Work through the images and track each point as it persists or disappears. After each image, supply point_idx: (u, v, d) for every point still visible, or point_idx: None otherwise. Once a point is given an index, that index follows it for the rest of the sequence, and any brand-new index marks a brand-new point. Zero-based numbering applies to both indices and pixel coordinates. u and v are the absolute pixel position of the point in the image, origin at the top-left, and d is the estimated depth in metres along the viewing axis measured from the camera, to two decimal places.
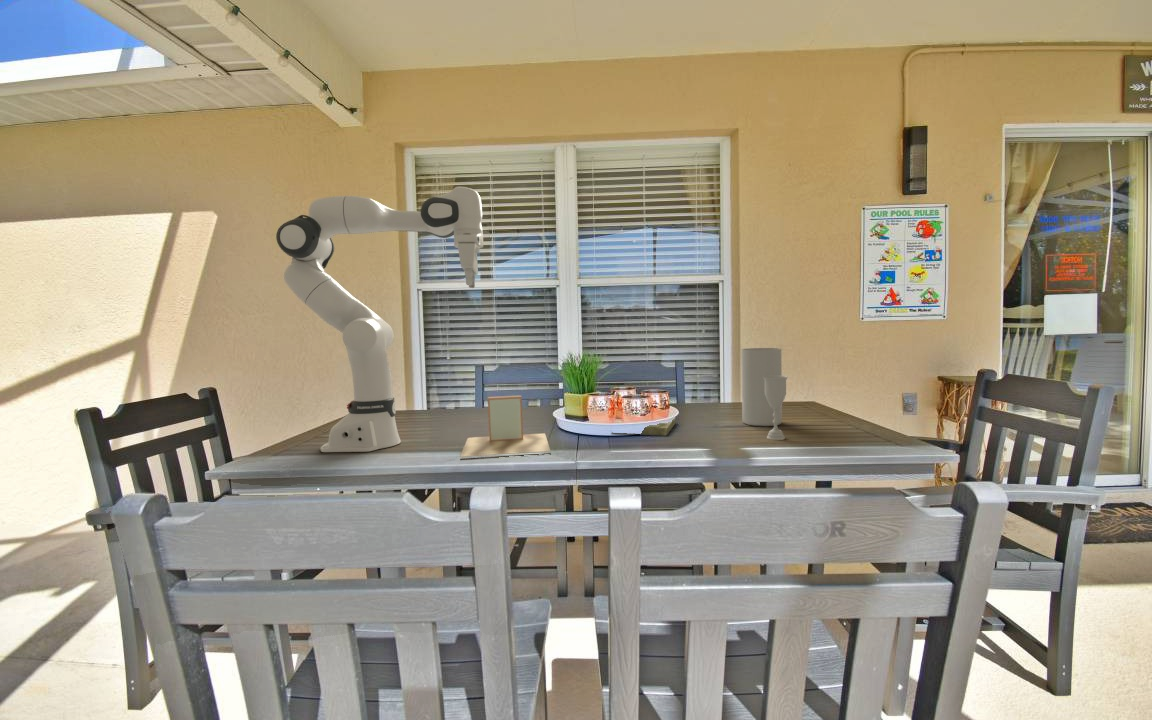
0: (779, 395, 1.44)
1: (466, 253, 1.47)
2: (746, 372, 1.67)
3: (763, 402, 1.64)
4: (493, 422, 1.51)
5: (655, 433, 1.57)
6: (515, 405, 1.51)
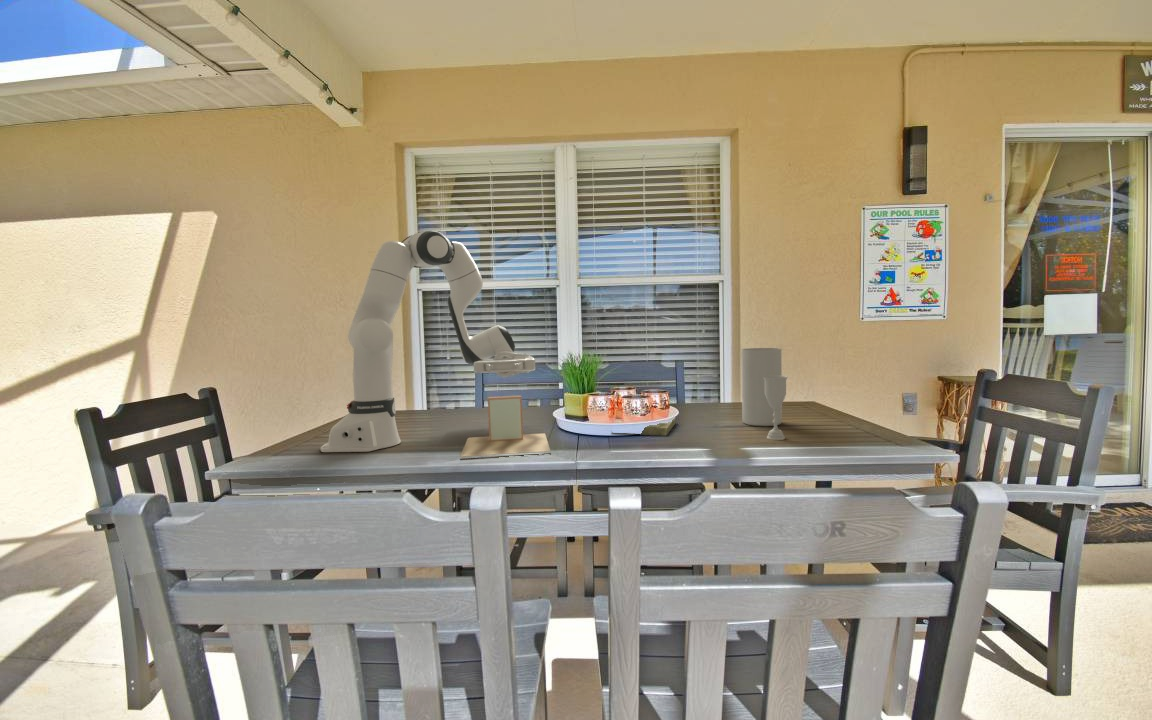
0: (779, 395, 1.44)
1: None
2: (746, 372, 1.67)
3: (763, 402, 1.64)
4: (493, 422, 1.51)
5: (655, 433, 1.57)
6: (515, 405, 1.51)
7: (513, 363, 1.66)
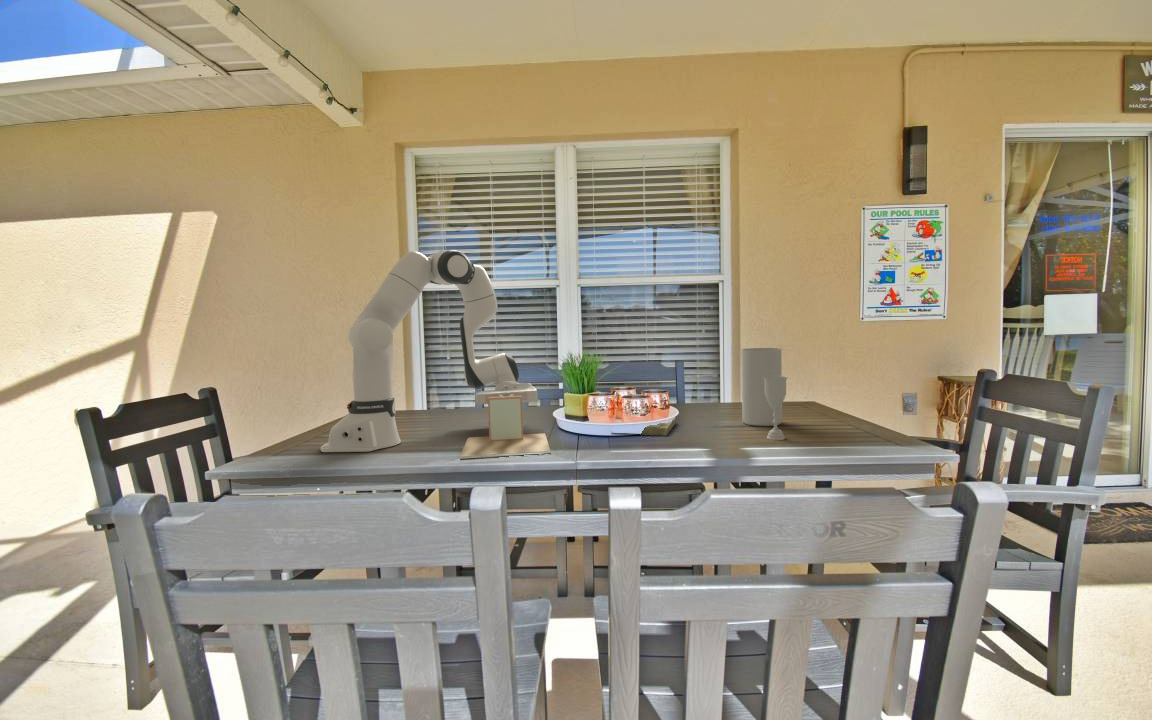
0: (779, 395, 1.44)
1: None
2: (746, 372, 1.67)
3: (763, 402, 1.64)
4: (493, 422, 1.51)
5: (655, 433, 1.57)
6: (515, 405, 1.51)
7: (515, 394, 1.66)
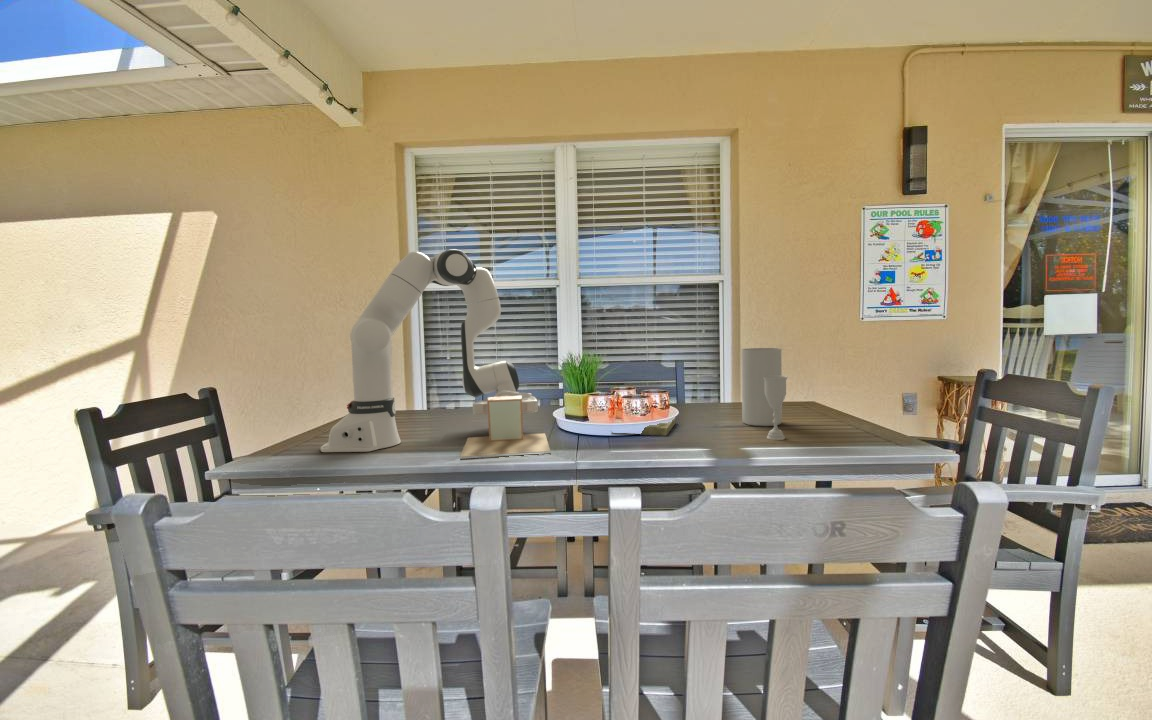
0: (779, 395, 1.44)
1: None
2: (746, 372, 1.67)
3: (763, 402, 1.64)
4: (493, 423, 1.49)
5: (655, 433, 1.57)
6: (515, 407, 1.49)
7: None
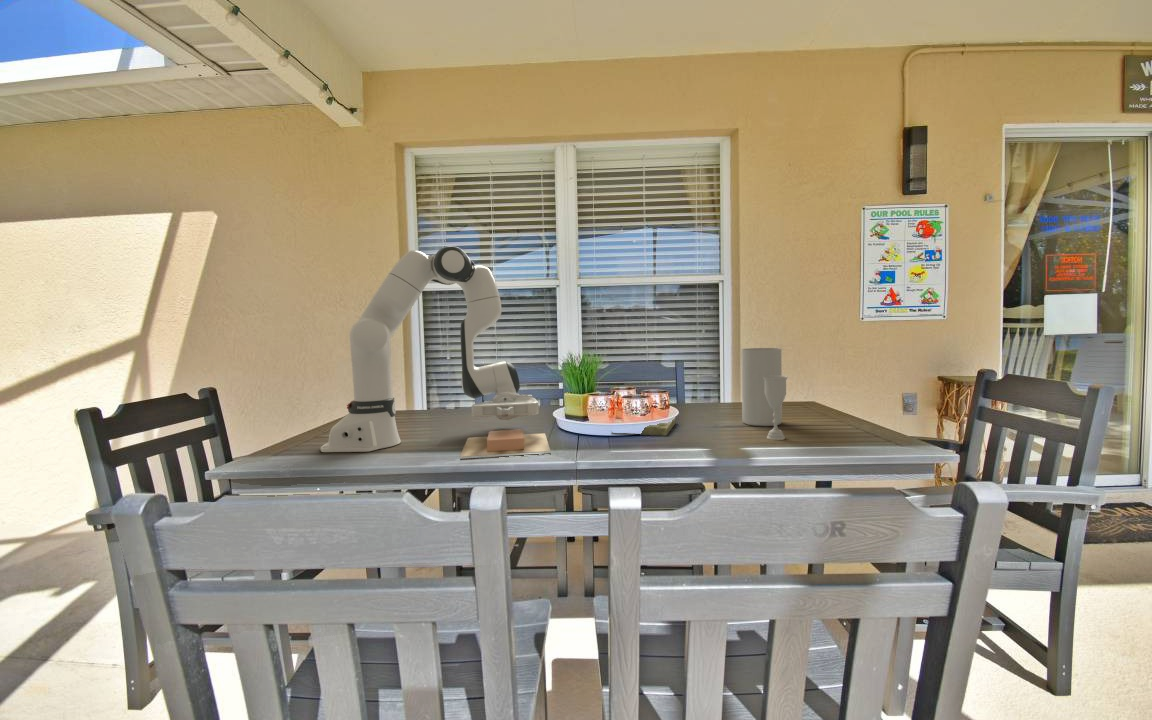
0: (779, 395, 1.44)
1: None
2: (746, 372, 1.67)
3: (763, 402, 1.64)
4: None
5: (655, 433, 1.57)
6: None
7: (514, 407, 1.53)
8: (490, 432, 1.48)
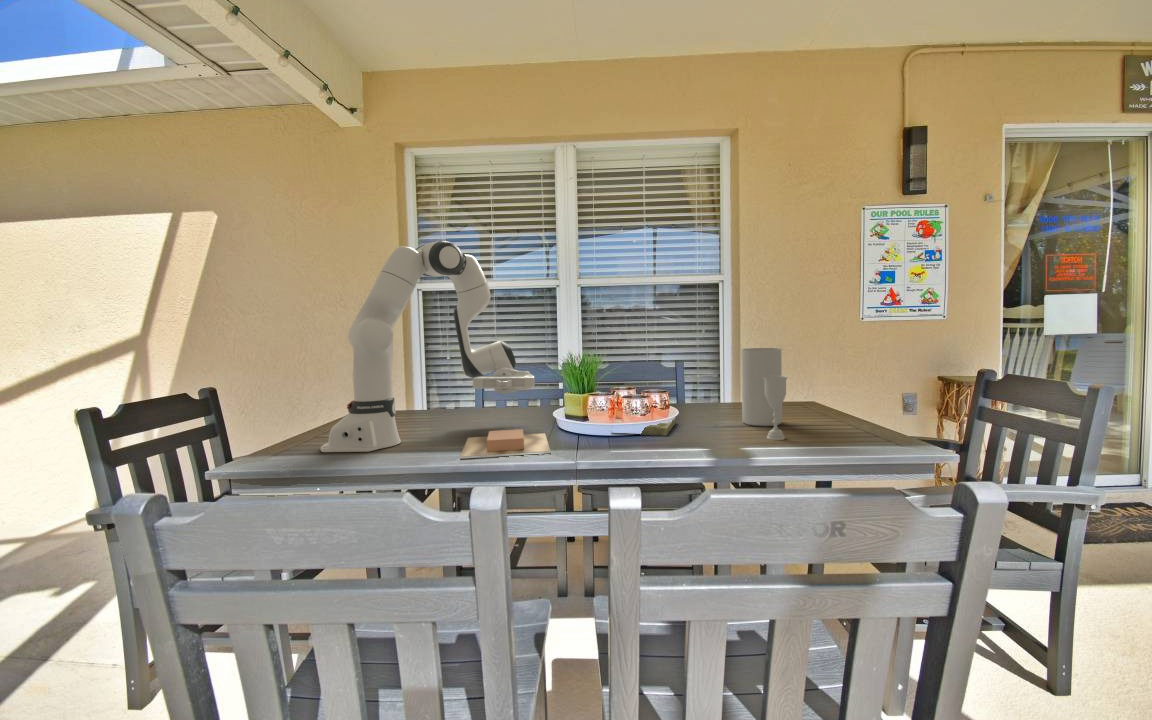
0: (779, 395, 1.44)
1: None
2: (746, 372, 1.67)
3: (763, 402, 1.64)
4: None
5: (655, 433, 1.57)
6: None
7: (512, 380, 1.66)
8: (490, 432, 1.48)
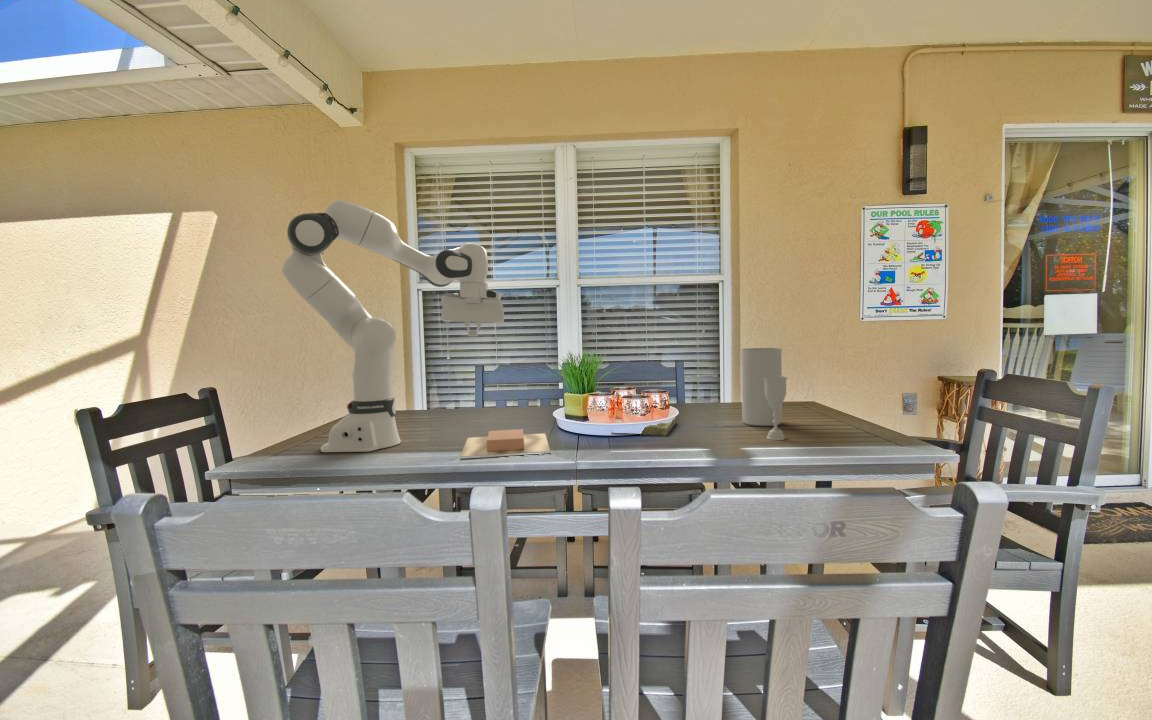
0: (779, 395, 1.44)
1: (503, 310, 1.67)
2: (746, 372, 1.67)
3: (763, 402, 1.64)
4: None
5: (655, 433, 1.57)
6: None
7: None
8: (490, 432, 1.48)
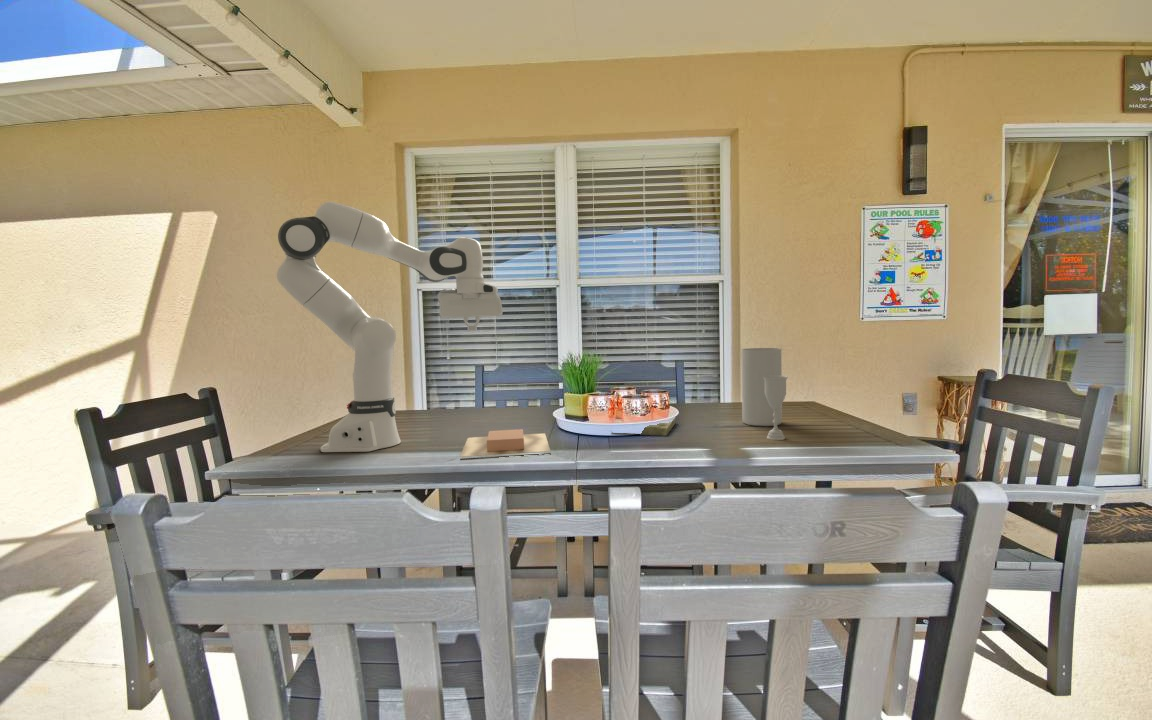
0: (779, 395, 1.44)
1: None
2: (746, 372, 1.67)
3: (763, 402, 1.64)
4: None
5: (655, 433, 1.57)
6: None
7: None
8: (490, 432, 1.48)
